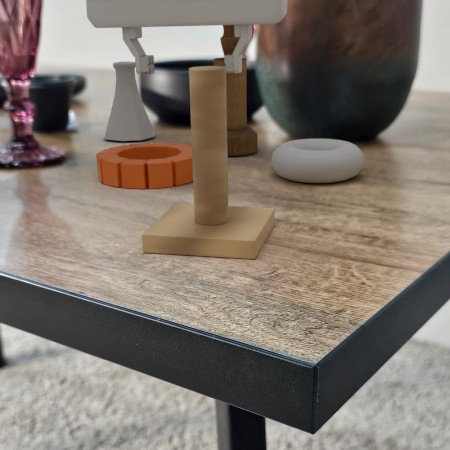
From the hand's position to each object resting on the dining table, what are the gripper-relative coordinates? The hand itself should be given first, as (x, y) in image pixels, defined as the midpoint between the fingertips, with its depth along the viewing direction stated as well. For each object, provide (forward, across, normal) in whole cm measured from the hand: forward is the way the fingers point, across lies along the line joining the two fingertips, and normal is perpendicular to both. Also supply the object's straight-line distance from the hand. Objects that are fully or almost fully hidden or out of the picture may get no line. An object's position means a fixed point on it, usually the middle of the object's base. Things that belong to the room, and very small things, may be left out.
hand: (188, 73), depth 76 cm
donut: (+11, +13, +3) cm, 17 cm away
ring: (+11, -5, 0) cm, 12 cm away
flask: (+11, -15, +21) cm, 28 cm away
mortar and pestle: (+11, +1, +14) cm, 18 cm away
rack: (+11, +7, -20) cm, 24 cm away
